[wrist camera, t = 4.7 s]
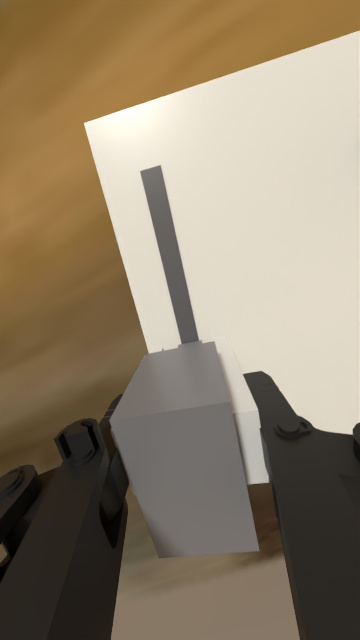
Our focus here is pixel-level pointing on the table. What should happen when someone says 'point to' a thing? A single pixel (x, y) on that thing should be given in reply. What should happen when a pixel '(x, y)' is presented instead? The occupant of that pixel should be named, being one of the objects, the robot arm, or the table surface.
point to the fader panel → (249, 220)
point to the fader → (185, 453)
